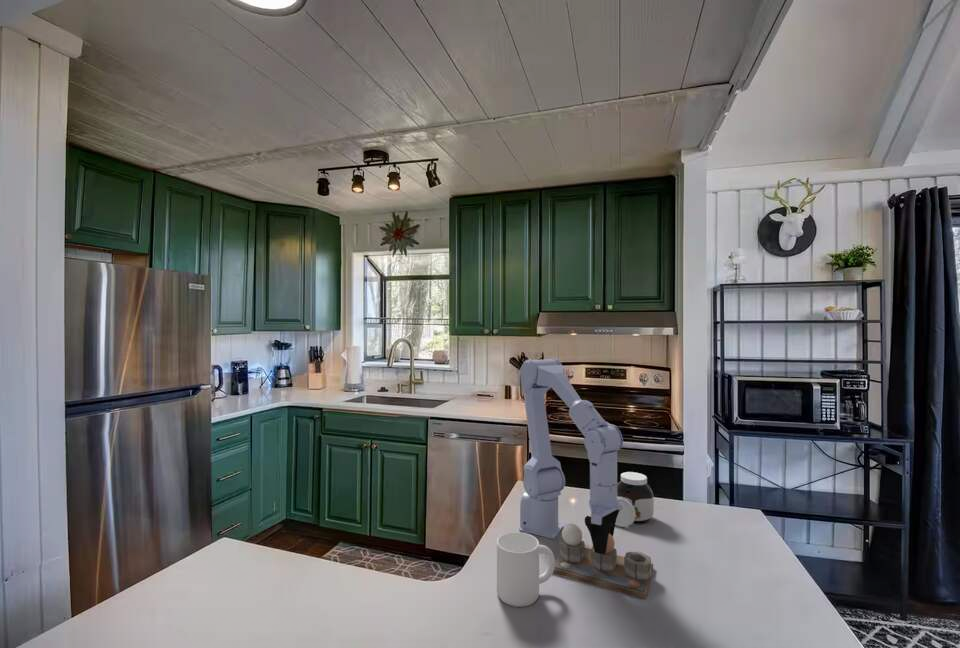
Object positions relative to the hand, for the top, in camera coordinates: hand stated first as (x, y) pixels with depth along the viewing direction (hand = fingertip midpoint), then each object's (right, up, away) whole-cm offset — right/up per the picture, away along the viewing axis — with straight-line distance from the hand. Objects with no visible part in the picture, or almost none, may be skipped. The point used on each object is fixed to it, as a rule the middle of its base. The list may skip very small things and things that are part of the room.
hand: (603, 544), depth 93 cm
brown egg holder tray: (-1, -5, -1) cm, 5 cm away
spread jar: (+14, -6, +23) cm, 28 cm away
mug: (-18, -5, -9) cm, 20 cm away
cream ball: (-6, 0, +3) cm, 7 cm away
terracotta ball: (0, +1, 0) cm, 1 cm away
